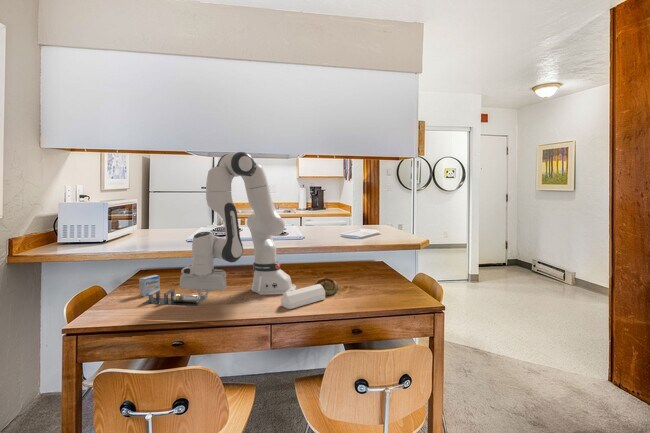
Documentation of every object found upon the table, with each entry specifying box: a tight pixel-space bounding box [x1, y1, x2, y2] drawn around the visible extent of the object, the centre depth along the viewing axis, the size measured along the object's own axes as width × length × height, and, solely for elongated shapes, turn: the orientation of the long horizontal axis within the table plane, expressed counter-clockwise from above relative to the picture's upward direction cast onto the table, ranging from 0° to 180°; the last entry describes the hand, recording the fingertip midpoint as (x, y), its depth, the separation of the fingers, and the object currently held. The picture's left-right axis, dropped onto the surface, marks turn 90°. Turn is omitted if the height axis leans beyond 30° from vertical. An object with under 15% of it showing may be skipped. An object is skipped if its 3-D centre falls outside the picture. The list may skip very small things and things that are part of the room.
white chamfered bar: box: [280, 284, 326, 310], centre depth 162 cm, size 7×7×24 cm
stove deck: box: [141, 287, 205, 307], centre depth 161 cm, size 25×9×5 cm, turn 86°
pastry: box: [313, 277, 339, 296], centre depth 179 cm, size 14×12×8 cm
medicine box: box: [138, 274, 161, 297], centre depth 172 cm, size 8×4×9 cm, turn 148°
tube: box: [172, 293, 200, 303], centre depth 160 cm, size 11×3×3 cm, turn 86°
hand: (203, 299), depth 160 cm, fingers closed
